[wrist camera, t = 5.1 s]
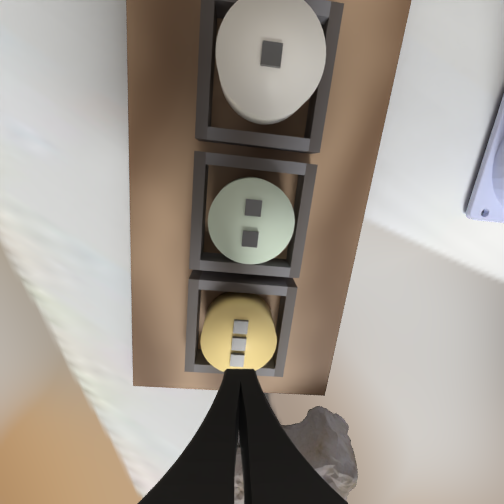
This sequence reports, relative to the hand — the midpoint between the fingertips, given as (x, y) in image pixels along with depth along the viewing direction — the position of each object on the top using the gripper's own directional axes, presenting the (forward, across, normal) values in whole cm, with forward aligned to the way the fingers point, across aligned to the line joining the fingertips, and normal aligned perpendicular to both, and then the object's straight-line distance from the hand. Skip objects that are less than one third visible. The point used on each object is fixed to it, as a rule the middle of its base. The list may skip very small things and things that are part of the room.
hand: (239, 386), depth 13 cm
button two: (+6, 0, -7) cm, 9 cm away
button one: (+5, -1, -14) cm, 15 cm away
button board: (+7, 0, -7) cm, 10 cm away
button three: (+6, 0, 0) cm, 6 cm away
